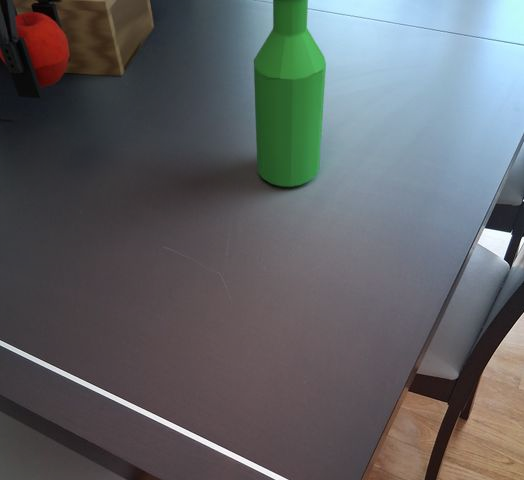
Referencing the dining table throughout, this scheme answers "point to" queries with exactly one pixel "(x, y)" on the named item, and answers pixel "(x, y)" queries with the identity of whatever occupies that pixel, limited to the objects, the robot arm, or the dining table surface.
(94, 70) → the wood grain cube
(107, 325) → the dining table surface
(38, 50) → the apple
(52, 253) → the dining table surface
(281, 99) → the bottle
